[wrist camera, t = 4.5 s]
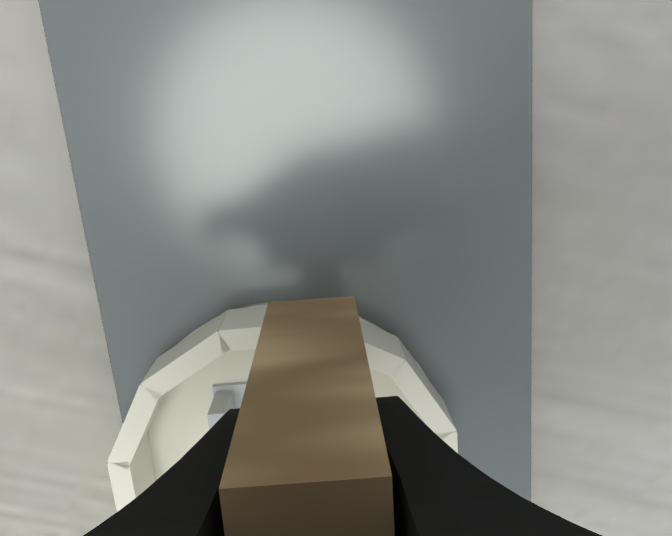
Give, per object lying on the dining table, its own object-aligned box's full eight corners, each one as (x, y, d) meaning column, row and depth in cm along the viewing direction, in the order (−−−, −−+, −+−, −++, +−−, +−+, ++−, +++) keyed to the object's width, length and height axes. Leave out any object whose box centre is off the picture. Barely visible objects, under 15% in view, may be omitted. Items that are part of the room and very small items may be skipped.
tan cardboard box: (354, 296, 13) (391, 476, 7) (363, 448, 14) (403, 740, 8) (268, 301, 13) (218, 489, 7) (282, 454, 14) (252, 752, 8)
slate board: (526, -155, 17) (532, -163, 17) (526, 569, 24) (530, 578, 23) (23, -113, 17) (14, -119, 17) (163, 602, 24) (160, 612, 23)
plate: (437, 286, 20) (453, 309, 18) (448, 559, 23) (463, 611, 21) (109, 315, 20) (81, 342, 18) (162, 585, 23) (144, 640, 21)
